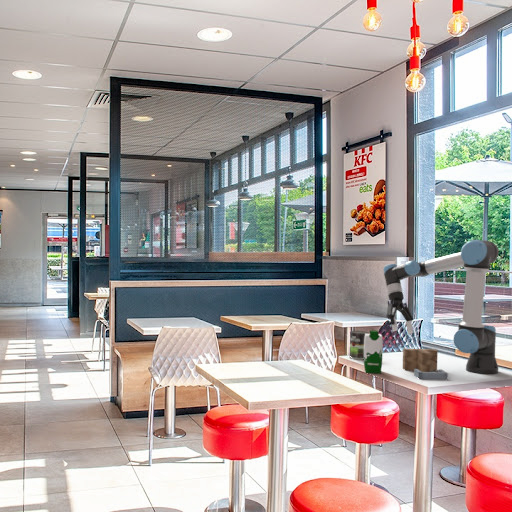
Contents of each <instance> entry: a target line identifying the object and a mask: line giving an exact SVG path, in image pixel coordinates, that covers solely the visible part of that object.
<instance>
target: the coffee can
mask: <svg viewBox="0 0 512 512" xmlns="http://www.w3.org/2000/svg"><path fill="white" fill-rule="evenodd" d="M349 334H350V335H349V336H350V337H349V357H350V356H351V357H352V358H354V359H353V360H361V359H364V338H365V334H370V331H365V330H364V331H363V330H352V331H351V330H350V332H349ZM352 358H351V359H352Z"/></svg>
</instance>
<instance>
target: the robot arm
mask: <svg viewBox="0 0 512 512" xmlns="http://www.w3.org/2000/svg"><path fill="white" fill-rule="evenodd" d="M498 256H499V248H498V246H497V245H496V244H495V243H494V242H492V241H491V240H481V239H473V240H469V241H467V242H465V243H464V244H463V245H462V247H461V250H460V252H456V253H452V254H447V255H443V256H440V257H436V258H432V259H427V260H424V261H419V262H417V261H416V260H415V259H412V260H409V261H406V262H404V263H402V264H400V265H397V264H395V263H391V264H386V265H384V267H383V276H384V280H385V284H386V290H387V293H388V300H387V311H386V318H387V319H388V320H390V325H391V329H392V332H393V333H394V332H397V331H399V329H398V324H397V319H396V317H395V316H396V314H397V311H398V312H399V313H401V315H402V317H403V318H404V320H405V325H406V330H407V334H408V335H411V334H414V330H413V324H412V321H414V318H413V315H412V313H411V312H410V309H409V307H408V304H407V303H408V302H403V300H405V299H404V292H403V288H402V283H401V281H402V280H404V279H405V280H406V279H407V278H417V277H419V278H420V277H423V278H424V277H428V276H429V275H433V274H436V273H437V274H438V273H441V272H447V271H450V270H454V269H459V268H460V269H461V268H463V269H464V270H465V271H466V273H465V275H466V276H465V286H464V296H463V297H464V299H463V309H462V318H461V319H462V320H461V321H459V322H458V329H457V331H456V332H455V333H454V335H453V344H454V346H455V348H456V349H457V350H458V351H460V352H461V353H463V354H469V356H468V360H467V362H466V364H465V370H466V371H467V370H468V371H467V372H470V373H474V374H475V373H476V374H487V375H490V374H491V375H492V374H498V373H499V365H498V362H497V358H496V338H497V337H496V335H497V332H496V331H497V330H496V327H495V326H494V325H487V324H483V323H482V318H483V307H484V306H483V304H484V296H485V295H484V294H485V283H486V273H487V272H488V271H489V270H490V266H491V265H490V264H493V263H494V262H495V261H496V260H497V259H498V258H499V257H498Z"/></svg>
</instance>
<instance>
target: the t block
mask: <svg viewBox="0 0 512 512" xmlns="http://www.w3.org/2000/svg"><path fill="white" fill-rule="evenodd" d="M438 352H439V351H438V349H435V348H433V349H432V348H402V369H403V370H404V369H405V370H404V371H414V369H418V370H420V371H421V372H431V371H430V370H437V371H438Z"/></svg>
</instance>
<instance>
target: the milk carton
mask: <svg viewBox="0 0 512 512" xmlns="http://www.w3.org/2000/svg"><path fill="white" fill-rule="evenodd" d="M383 342H384V340H383V335H382V334H380V333H379V330H369V334H365V338H364V360H363V366H364V372H365V373H366V374H381V372H382V366H383V351H384V350H383V346H384V345H383Z"/></svg>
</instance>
